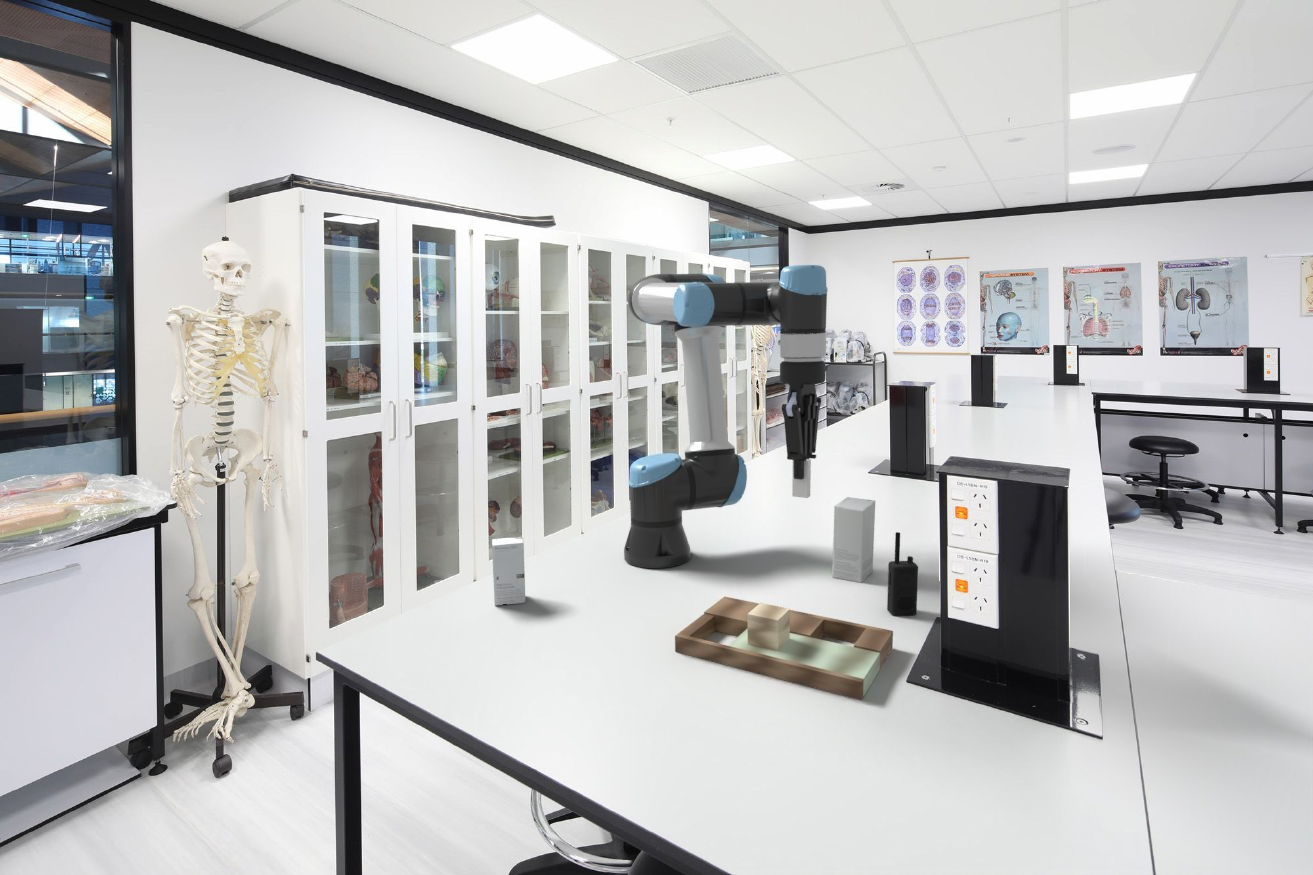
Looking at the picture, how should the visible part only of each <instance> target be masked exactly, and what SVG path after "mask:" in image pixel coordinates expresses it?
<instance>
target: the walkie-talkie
mask: <svg viewBox="0 0 1313 875" xmlns="http://www.w3.org/2000/svg"><path fill="white" fill-rule="evenodd" d="M894 535H895V538H894V540H895V541H894V560H892V561H889V562H888V566H887V567H888V569H887V571H888V572H887V574H888V575H887V598H886V599H887V602H886V603H887V605H886V610H887V612H888V613H889V614H890V615H891V616H894V617H901V616H902V617H904V616H905V617H906V616H916V615H917V612H918V611H917V610H918V609H917V608H918V585H919V584H918V583H919V582H918V581H919V580H918V579H919V566H918V564H917V563H915V562H914V556H912V555H911V556H910V555H909V556H907V558H906V560H900V556H901V554H900V553H901V552H900V551H901V550H900V549H901V532H898V531H897V532H895V534H894Z"/></svg>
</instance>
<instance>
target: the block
mask: <svg viewBox="0 0 1313 875" xmlns="http://www.w3.org/2000/svg"><path fill="white" fill-rule="evenodd" d="M790 610H791V609H790V608H788V607H784V606H783V607H782V606H778V605H772V604H768V603H763V602H760V603H759V604H758V605H757V606H756V607H755V608H754V609H753V610H751V611H750V612H749V613H748V644H749V645H753V646H757V647H761V648H765V649H770V650H774V651H779V650H780V648H781V647H782V646H783V645H784V644H785V643H786V642H787V641H788V640H789V639H790Z"/></svg>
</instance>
